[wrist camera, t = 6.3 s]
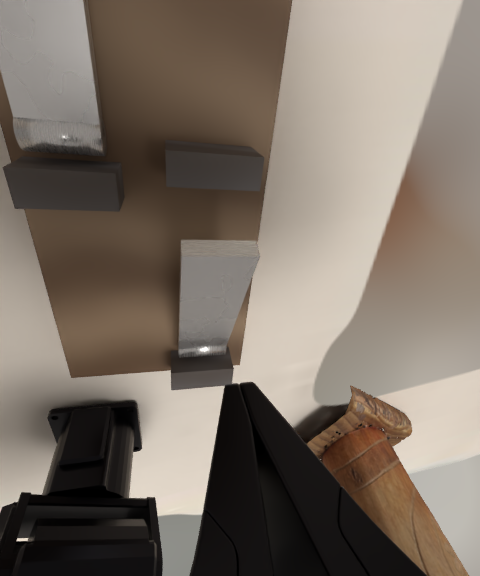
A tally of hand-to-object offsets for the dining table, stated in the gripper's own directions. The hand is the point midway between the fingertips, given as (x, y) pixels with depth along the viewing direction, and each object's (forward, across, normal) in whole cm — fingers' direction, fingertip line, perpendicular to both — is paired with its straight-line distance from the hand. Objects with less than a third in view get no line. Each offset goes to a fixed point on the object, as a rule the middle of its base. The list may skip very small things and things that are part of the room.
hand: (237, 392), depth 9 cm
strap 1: (+8, 0, +2) cm, 8 cm away
